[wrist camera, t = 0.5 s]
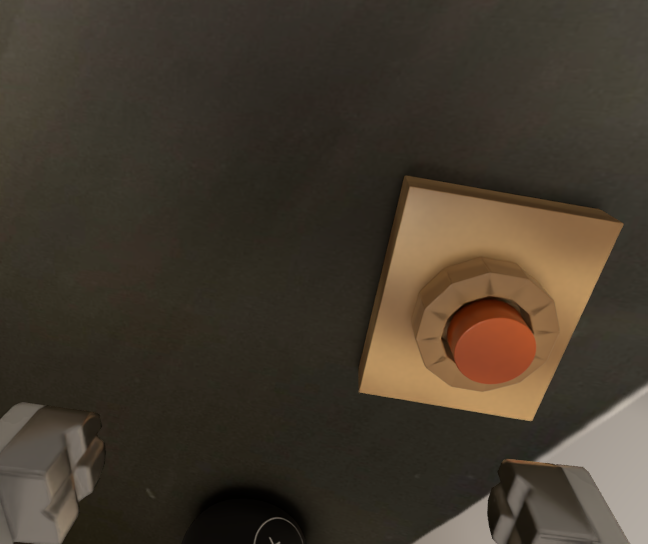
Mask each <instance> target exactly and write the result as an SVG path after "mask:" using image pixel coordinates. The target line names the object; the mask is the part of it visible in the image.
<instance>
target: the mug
mask: <svg viewBox="0 0 648 544" xmlns="http://www.w3.org/2000/svg"><path fill="white" fill-rule="evenodd" d="M182 544H306V541H305V538H304V535H303V533H302V531H301V529H300V527H299V526H298V524H297V523H296V521H295V520H294V519H293V518H292V517H291V516H290V515H289V514H288V513H286V512H285V511H283V510H282V509H280V508H278V507H276V506H274V505H272V504H269V503H266V502H263V501H259V500H254V499H230V500H225V501H222V502H219V503H216V504H214V505H212V506H210V507H209V508H207V509H206V510H205V511H203V512H202V513H201V514H200V515H199V516H198V517H197V518H196V519H195V520H194V521H193V523H192V524H191V525H190V527H189V529H188V530H187V532H186V534H185V536H184V539H183V541H182Z"/></svg>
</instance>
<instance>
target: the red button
mask: <svg viewBox="0 0 648 544" xmlns="http://www.w3.org/2000/svg"><path fill="white" fill-rule="evenodd" d="M447 339H448V343H449V346H450V349H451V352H452V355H453V358H454V361H455V363H456V366H457V368H458V369H459V371H460V372H461V373H462V374H463V375H464V376H466V377H467V378H469V379H470V380H472V381H475V382H477V383H482V384H500V383H505V382H508V381H510V380H513V379H515V378H517V377H518V376H520V375H521V374H522V373H524V372H525V371H526V370H527V369H528V368H529V366H530V365H531V363H532V362H533V360H534V357H535V354H536V340H535V337H534V335H533V333H532V331H531V330H530V328H529V327H528V325H527V324H526V322H525V321H524V319H523V318H522V316H521V315H520V313H519V312H518V311H517V310H516V309H515V308H514V307H513V306H511V305H510V304H508V303H505V302H503V301H499V300H492V299H486V300H480V301H476V302H473V303H470V304H468V305H466V306H465V307H463V308H462V309H461V310H459V311H458V312H457V313H456V314H455V316H454V317H453V318H452V320H451V322H450V324H449V326H448V331H447Z"/></svg>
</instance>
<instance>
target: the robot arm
mask: <svg viewBox="0 0 648 544" xmlns="http://www.w3.org/2000/svg"><path fill="white" fill-rule="evenodd" d="M101 427H102V424H101V419H100V415H99V414H98V413H95V412H91V411H84V410H77V409H70V408H63V407H56V406H48V405H46V406H45V405H38V404H31V403H24V402H22V403H19V404H17V405H15V406H13V407H12V408H11V409H10V410H9V411H8V412H7V413H6V414H5V415H4V416H3V417H2V418H1V419H0V544H13V541H14V542H26V543H37V544H61V543H62V541H63V540H64V538H65V536H66V535H67V533H68V531H69V530H70V528H71V526H72V525H73V523H74V521H75V520H76V518H77V516H78V515H79V513H80V510H79V504H78V501H79V500H81V499H82V498H84V497H85V496H87V495H88V494H90V493H91V492H92V491H93V490H94V488H95V486H96V484H97V483H98V481H99V479H100V476H101V473H102V470H103V467H104V464H105V455H106V450H105V443H104V442H103V441H102V440H101V439H100V438H99V437H98V436H97V433H98V432H99V430H100V429H101ZM498 475H499V478H500V481H501V482H500V483H499V484H497V485H496V486H494V487H493V488H492V489H491V492H490V495H489V499H488V511H487V514H488V521H489V528H490V532H491V535H492V539H493V540H494V541H495V542H496V543H497V544H630V543H629V542H628V539H627V538H626V536H625V535H624V532H623V531H622V529H621V527H620V526H619V524H618V522H617V520H616V519H615V517H614V515H613V514H612V512H611V510H610V508H609V507H608V505H607V503H606V501H605V500H604V498H603V496H602V495H601V493H600V491H599V489H598V487H597V486H596V484H595V482H594V480H593V479H592V477H591V475H590V473H589V472H588V471H587V470H586V469H585V468H583V467H578V466H568V465H558V464H557V465H555V464H550V463H540V462H531V461H521V460H511V459H505V460H504V461H503V462H502V463H501V465H500V467H499V470H498Z"/></svg>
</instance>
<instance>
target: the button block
mask: <svg viewBox="0 0 648 544" xmlns="http://www.w3.org/2000/svg"><path fill="white" fill-rule="evenodd" d="M622 226H623V223H622V222H620V221H619V220H617V219H615V218H614V217H612V216H610V215H609V214H607V213H605V212H604V211H602V210H600V209H594V208H589V207H583V206H577V205H572V204H566V203H560V202H555V201H549V200H543V199H537V198H532V197H526V196H520V195H515V194H509V193H503V192H497V191H492V190H486V189H480V188H475V187H469V186H463V185H458V184H452V183H446V182H440V181H435V180H429V179H423V178H418V177H412V176H404V180H403V184H402V188H401V192H400V196H399V201H398V205H397V209H396V213H395V217H394V222H393V226H392V230H391V234H390V238H389V243H388V247H387V251H386V255H385V259H384V264H383V268H382V272H381V276H380V280H379V285H378V289H377V293H376V297H375V301H374V306H373V310H372V314H371V318H370V322H369V327H368V331H367V335H366V339H365V343H364V348H363V352H362V356H361V360H360V364H359V368H358V371H359V392H361V393H367V394H373V395H378V396H384V397H390V398H396V399H402V400H408V401H414V402H420V403H426V404H432V405H438V406H444V407H450V408H456V409H462V410H468V411H474V412H480V413H486V414H492V415H498V416H504V417H510V418H516V419H522V420H527V421H532V420H533V418H534V415H535V413H536V411H537V409H538V407H539V405H540V403H541V400H542V398H543V396H544V394H545V392H546V390H547V387H548V385H549V383H550V381H551V379H552V377H553V375H554V372H555V370H556V368H557V366H558V364H559V362H560V360H561V357H562V355H563V353H564V351H565V349H566V347H567V345H568V342H569V340H570V338H571V336H572V334H573V332H574V330H575V327H576V325H577V323H578V321H579V319H580V317H581V314H582V312H583V310H584V308H585V306H586V304H587V302H588V299H589V297H590V295H591V293H592V291H593V289H594V287H595V284H596V282H597V280H598V278H599V276H600V274H601V272H602V269H603V267H604V265H605V263H606V261H607V259H608V257H609V254H610V252H611V250H612V248H613V246H614V244H615V241H616V239H617V237H618V235H619V233H620V231H621V229H622ZM486 299H492V300H499V301H503V302H505V303H508V304H510V305H511V306H513V307H514V308H515V309H516V310H517V311H518V312H519V313H520V315H521V316H522V318H523V319H524V321H525V322H526V324H527V325H528V327H529V328H530V330H531V331H532V333H533V335H534V337H535V340H536V354H535V357H534V360H533V362H532V363H531V365H530V366H529V368H528V369H527V370H526V371H525V372H524V373H522V374H521V375H520V376H518V377H517V378H515V379H513V380H510V381H508V382H505V383H500V384H482V383H477V382H475V381H472V380H470V379H469V378H467V377H466V376H464V375H463V374H462V373H461V372H460V371H459V369H458V368H457V366H456V363H455V361H454V358H453V355H452V352H451V349H450V346H449V343H448V339H447V331H448V326H449V324H450V322H451V320H452V318H453V317H454V316H455V314H456V313H457V312H458V311H459V310H461V309H462V308H463V307H465V306H466V305H468V304H470V303H473V302H476V301H480V300H486Z"/></svg>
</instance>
